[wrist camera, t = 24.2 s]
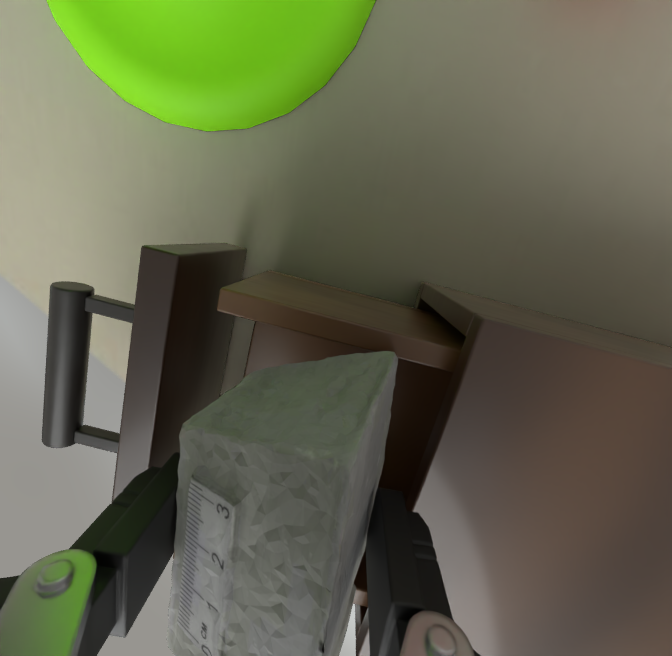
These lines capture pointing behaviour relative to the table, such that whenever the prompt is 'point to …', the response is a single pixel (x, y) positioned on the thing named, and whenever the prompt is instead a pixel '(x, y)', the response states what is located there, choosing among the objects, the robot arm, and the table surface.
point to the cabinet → (549, 485)
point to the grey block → (278, 508)
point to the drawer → (212, 347)
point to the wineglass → (213, 53)
